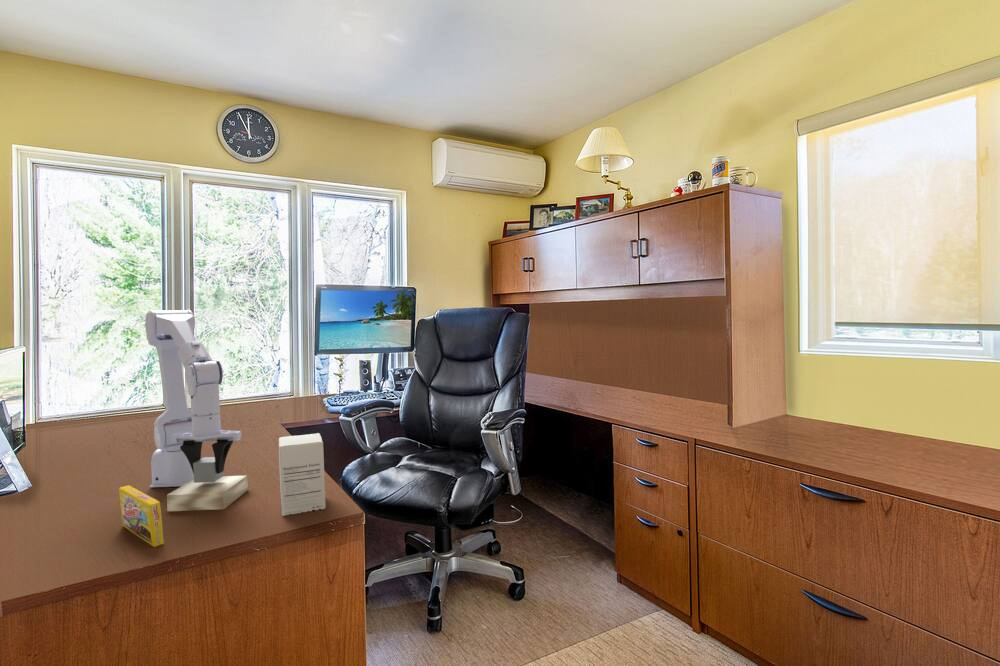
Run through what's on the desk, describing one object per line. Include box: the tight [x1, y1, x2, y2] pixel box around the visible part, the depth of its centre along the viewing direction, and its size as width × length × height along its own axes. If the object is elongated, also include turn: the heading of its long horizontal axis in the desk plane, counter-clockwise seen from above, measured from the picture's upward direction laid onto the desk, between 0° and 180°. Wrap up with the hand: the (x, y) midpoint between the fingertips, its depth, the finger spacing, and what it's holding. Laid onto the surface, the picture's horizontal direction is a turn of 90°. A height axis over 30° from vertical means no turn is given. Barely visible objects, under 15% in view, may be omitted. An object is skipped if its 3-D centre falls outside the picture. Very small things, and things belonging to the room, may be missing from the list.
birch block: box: [166, 475, 249, 512], centre depth 118 cm, size 12×12×4 cm
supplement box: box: [278, 432, 327, 517], centre depth 113 cm, size 9×9×15 cm
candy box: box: [118, 484, 165, 548], centre depth 100 cm, size 16×2×8 cm, turn 53°
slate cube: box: [193, 456, 225, 483], centre depth 118 cm, size 4×4×4 cm
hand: (208, 472), depth 118 cm, fingers closed on slate cube, 4 cm apart
